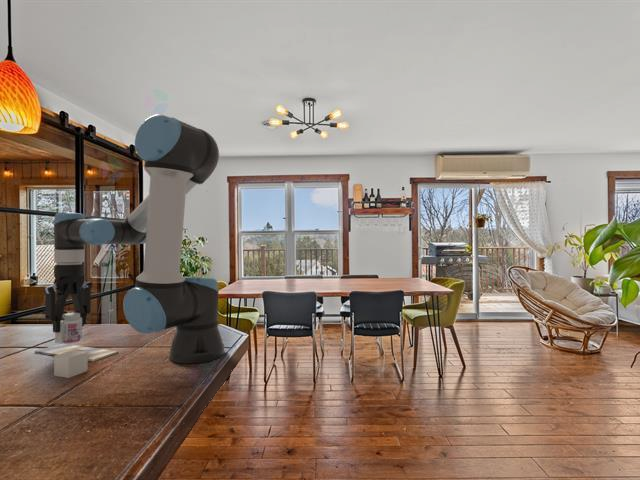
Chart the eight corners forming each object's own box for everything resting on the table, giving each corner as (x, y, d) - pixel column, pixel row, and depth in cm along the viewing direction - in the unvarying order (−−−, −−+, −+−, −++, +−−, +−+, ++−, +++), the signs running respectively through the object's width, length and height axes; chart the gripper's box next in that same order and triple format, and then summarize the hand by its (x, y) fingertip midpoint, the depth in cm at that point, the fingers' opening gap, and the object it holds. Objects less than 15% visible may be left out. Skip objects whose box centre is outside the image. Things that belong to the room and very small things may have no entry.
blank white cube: (87, 371, 92) (87, 351, 92) (68, 378, 87) (68, 357, 87) (73, 369, 94) (73, 350, 94) (54, 375, 89) (54, 355, 89)
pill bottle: (68, 344, 104) (69, 316, 104) (57, 342, 106) (58, 314, 106) (84, 340, 109) (85, 313, 109) (73, 338, 111) (74, 311, 111)
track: (118, 353, 107) (118, 351, 107) (93, 361, 99) (93, 359, 99) (61, 345, 114) (61, 343, 114) (34, 352, 107) (34, 350, 107)
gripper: (88, 261, 118) (87, 332, 117) (28, 265, 101) (28, 347, 101) (105, 262, 115) (104, 334, 115) (47, 265, 98) (46, 350, 98)
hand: (68, 340), depth 108 cm, fingers closed on pill bottle, 5 cm apart
